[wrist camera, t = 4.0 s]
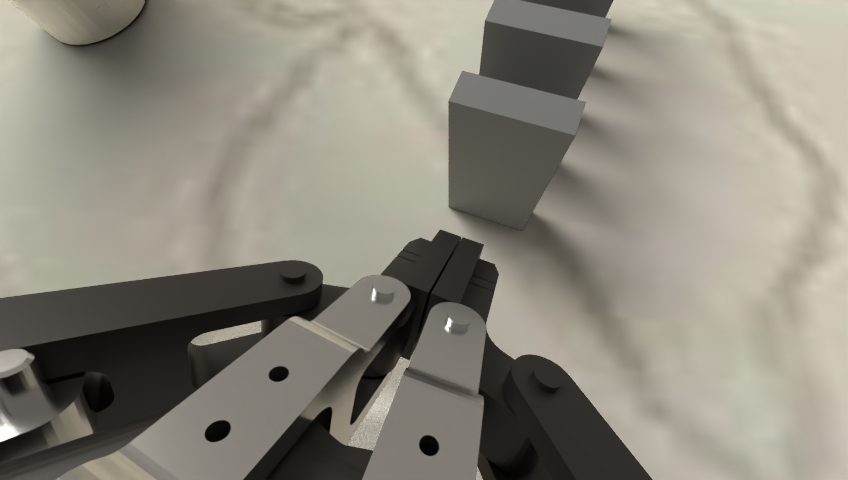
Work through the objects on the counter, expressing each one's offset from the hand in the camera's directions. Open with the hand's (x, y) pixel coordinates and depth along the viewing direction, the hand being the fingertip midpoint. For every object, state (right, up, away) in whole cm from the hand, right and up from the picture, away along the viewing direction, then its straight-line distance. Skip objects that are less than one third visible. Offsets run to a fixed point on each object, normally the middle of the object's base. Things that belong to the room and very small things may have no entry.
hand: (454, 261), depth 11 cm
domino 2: (+3, +3, +11) cm, 12 cm away
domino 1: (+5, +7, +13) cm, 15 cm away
